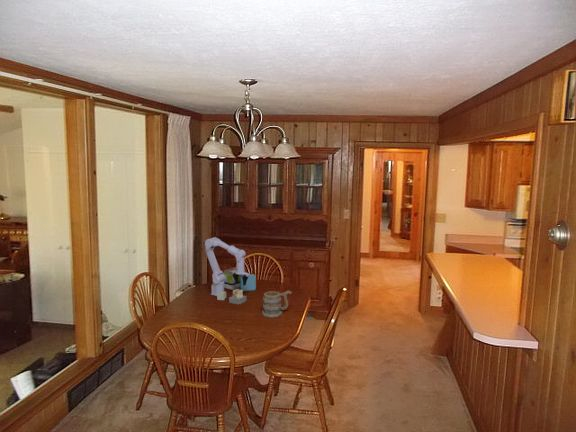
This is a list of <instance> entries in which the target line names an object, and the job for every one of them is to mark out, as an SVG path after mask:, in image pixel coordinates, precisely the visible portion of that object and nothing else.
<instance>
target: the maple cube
mask: <svg viewBox="0 0 576 432" xmlns="http://www.w3.org/2000/svg"><path fill="white" fill-rule="evenodd" d="M243 292H244V291H243V290H241V288H236V289H233V290H232V296H233V297H234V298H241V297H243V296H244V295H243V294H244V293H243Z"/></svg>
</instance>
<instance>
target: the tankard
mask: <svg viewBox="0 0 576 432" xmlns="http://www.w3.org/2000/svg"><path fill="white" fill-rule="evenodd" d="M292 293H293V292H292V291H290V290H287V291H284V292H279V291H275V290H274V291H272V290H271V291H266V292H264V293H263V297H262V301H263V304H262V307H263V310H262V311H261V314H262V315H263V317H267V318H278V317H280V316H281V315H282V314H283V311H284V310H287V309H288V306H289V300H288V297H287V295H292ZM282 297H283V301H284V306H282V304H281V301H282Z"/></svg>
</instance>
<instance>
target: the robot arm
mask: <svg viewBox="0 0 576 432" xmlns="http://www.w3.org/2000/svg"><path fill="white" fill-rule="evenodd" d="M204 247H205V248H204V249H205V251H204V252H205V253H206V256H207V259H208V262H209V265H210V267H211V270H212V275H211V276H212V284H211V286H210V287H211V293H210V296H211V295H212V296H215V297H217V293H218V292H219V291H224V292H225V288H224V281H225V279H226V276H225V275H224V271H222V270H221V269H220V266H219V263H218V261H217V259H216V256H215V253H214V250H215V248H216V247H220V248H222V249H224V250H226V251H227V253H228V254H231V255H232V256H234V257H235V260H236V267H237V271H232V274H233V275H232V276H233V277H234V280H235V283H236V284H237V283H238V277H239V275H244V276H242V279H243V285H246V282H247V279H248V277H249V274H250V273H249V272H246V271H245V272H244V269H245V257H246V250H244V249H240V248H237V247H236V246H235V245H229V244H227V243H226V242H224V241H222V240H221V239H220V238H217V237H216V236H215V237H211V238H207V239H206V240H205V241H204ZM226 295H227V292H226Z"/></svg>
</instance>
